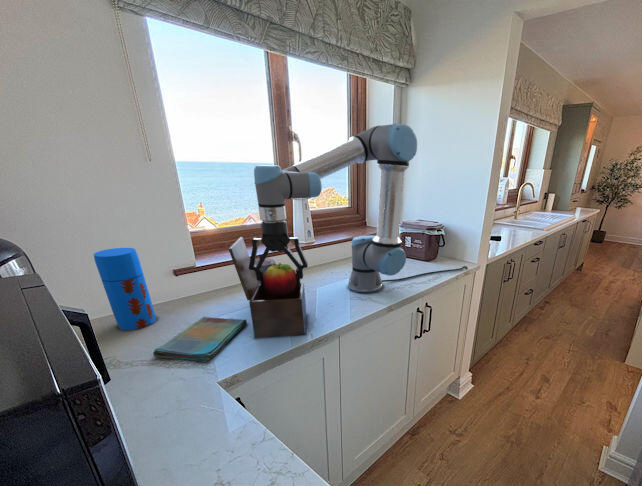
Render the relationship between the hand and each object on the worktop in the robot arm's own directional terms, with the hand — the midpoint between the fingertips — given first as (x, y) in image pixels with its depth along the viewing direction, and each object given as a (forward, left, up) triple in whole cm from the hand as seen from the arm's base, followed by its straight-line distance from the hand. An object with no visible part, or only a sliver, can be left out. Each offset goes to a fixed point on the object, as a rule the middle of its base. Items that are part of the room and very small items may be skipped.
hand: (281, 288), depth 106 cm
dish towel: (+24, +6, -14) cm, 29 cm away
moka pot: (+10, -20, -14) cm, 26 cm away
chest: (+1, 0, -14) cm, 14 cm away
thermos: (+50, -9, -14) cm, 53 cm away
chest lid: (+10, 0, +8) cm, 13 cm away
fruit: (0, 0, -2) cm, 2 cm away
